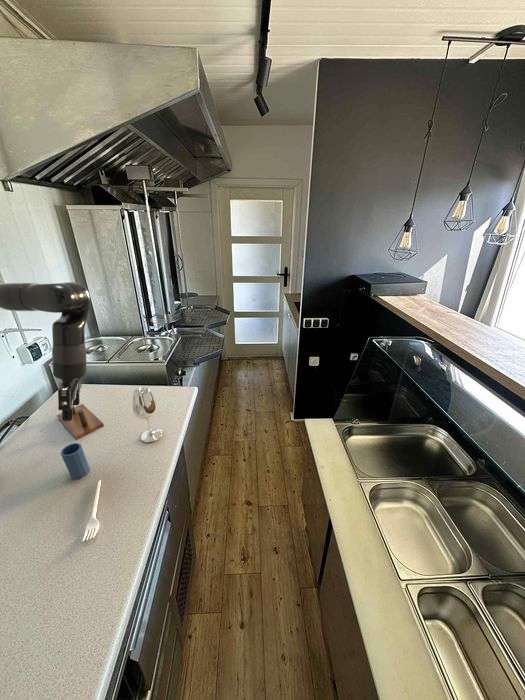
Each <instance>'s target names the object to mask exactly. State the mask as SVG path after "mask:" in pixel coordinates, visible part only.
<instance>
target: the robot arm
mask: <svg viewBox="0 0 525 700" xmlns="http://www.w3.org/2000/svg"><path fill="white" fill-rule="evenodd" d="M90 306H91V297H90V293H89V291H88V289H87V287H86V286H85V285H84V284H81V283H80V282H76V281H71V282H70V281H69V282H55V283H54V282H53V283H36V282H3V283H0V309H1V310H6V311H11V312H45V313H56V314H58V313H59V314H61V315H60V317H59V318H58V319H55V321H53V323H52V327H51V333H52V335H51V336H52V337H51V338H52V348H51V358H52V375H53V377H55V378H56V379H59V380H61V381H62V382H60V384H59V387H58V389H57V401H58V402H57V403H58V408H57V409H58V411H61V413H62V420H63V421H71V420H72V419H73V410H72V407H73V405H74V406H79V405H80V403H81V401H80V393H81V392H82V391H81V388H82V387H83V385H82V378H83V377H84V376H85V375H87V348H86V331H85V327H86V323H87V320H88V316H89V312H90V308H91V307H90ZM66 402H67V403H68V404H67V403H66Z"/></svg>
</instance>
